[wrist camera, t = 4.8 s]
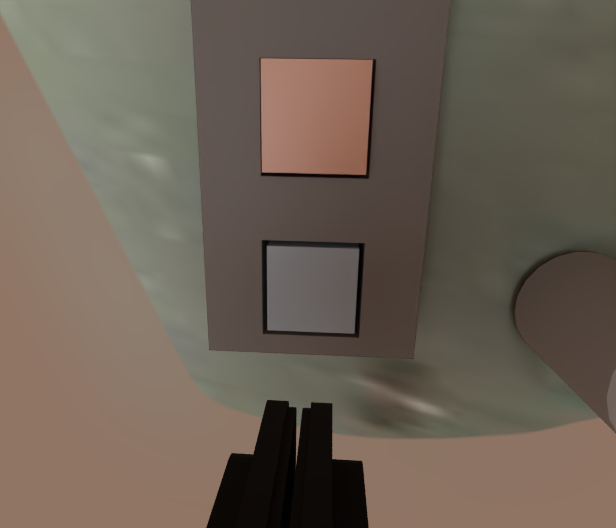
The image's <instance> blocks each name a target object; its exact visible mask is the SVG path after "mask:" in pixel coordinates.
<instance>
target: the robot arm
mask: <svg viewBox="0 0 616 528" xmlns="http://www.w3.org/2000/svg"><path fill="white" fill-rule="evenodd" d="M206 528H368V518H367V506H366V495H365V484H364V473H363V464H362V461H352V460H336V459H332V403H314V402H311V408H303V410H302V419H301V428H300V437H299V447H298V456H297V464H296V407H289V402H288V401H276V400H267V403H266V406H265V410H264V414H263V418H262V422H261V426H260V430H259V434H258V438H257V443H256V446H255V451H254V454H253V455H251V454H235V453H232V454H231V455H230V457H229V460H228V463H227V466H226V469H225V472H224V475H223V478H222V481H221V484H220V487H219V490H218V494H217V497H216V500H215V503H214V506H213V509H212V512H211V515H210V518H209V521H208V524H207V527H206Z"/></svg>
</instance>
